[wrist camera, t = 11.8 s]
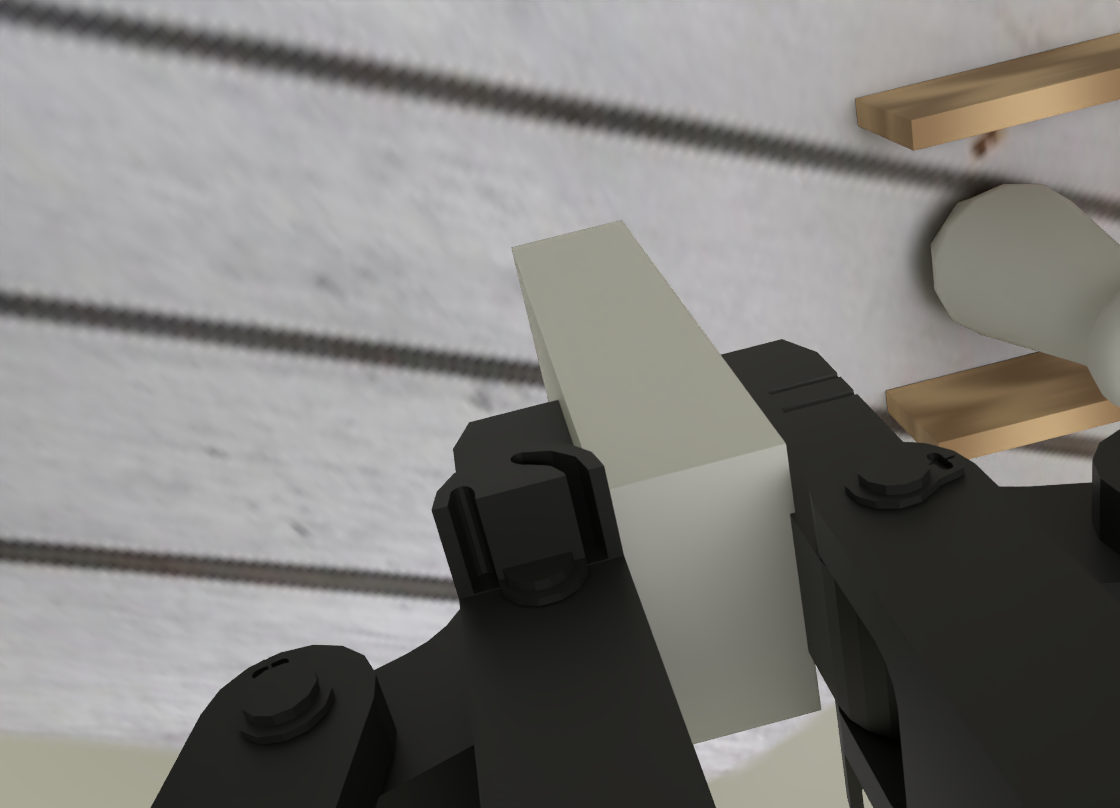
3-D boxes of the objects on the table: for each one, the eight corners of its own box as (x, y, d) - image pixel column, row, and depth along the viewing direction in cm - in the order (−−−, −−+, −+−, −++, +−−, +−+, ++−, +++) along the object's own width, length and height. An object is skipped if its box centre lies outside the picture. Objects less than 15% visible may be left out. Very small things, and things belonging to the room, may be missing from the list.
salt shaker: (930, 337, 44) (1117, 488, 32) (890, 211, 41) (1077, 322, 29) (1066, 276, 43) (1307, 405, 31) (1034, 145, 41) (1282, 231, 29)
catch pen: (887, 412, 45) (940, 466, 40) (855, 98, 39) (911, 120, 35) (1212, 330, 45) (1301, 374, 40) (1224, 6, 39) (1327, 16, 35)
